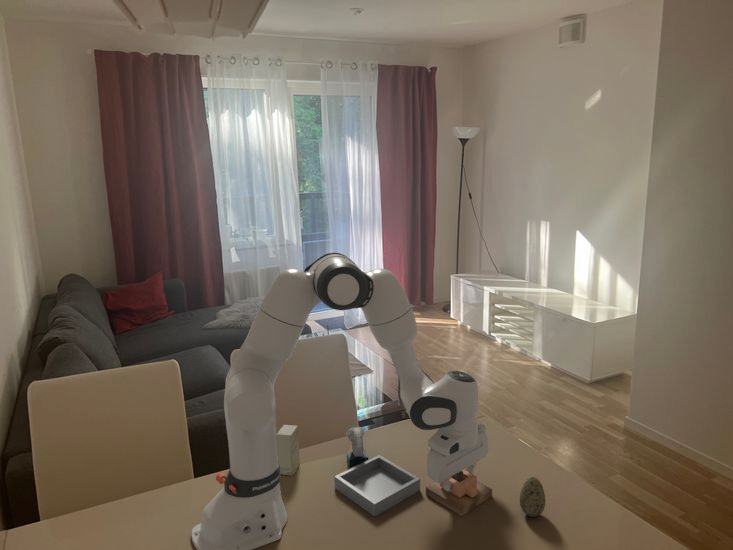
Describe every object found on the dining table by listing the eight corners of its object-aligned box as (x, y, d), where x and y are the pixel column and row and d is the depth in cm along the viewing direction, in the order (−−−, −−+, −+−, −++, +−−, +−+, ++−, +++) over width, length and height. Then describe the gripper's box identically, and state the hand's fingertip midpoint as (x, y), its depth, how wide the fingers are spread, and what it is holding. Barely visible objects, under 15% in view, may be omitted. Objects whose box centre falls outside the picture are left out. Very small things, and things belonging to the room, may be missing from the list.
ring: (466, 501, 133) (466, 490, 133) (440, 486, 140) (440, 475, 139) (482, 490, 137) (483, 480, 137) (456, 476, 144) (456, 466, 143)
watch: (364, 455, 159) (363, 421, 157) (369, 470, 152) (369, 434, 149) (345, 458, 158) (344, 423, 156) (350, 473, 151) (349, 436, 148)
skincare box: (293, 476, 150) (291, 435, 147) (277, 474, 150) (275, 434, 148) (300, 464, 156) (298, 425, 153) (285, 462, 156) (283, 423, 154)
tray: (374, 516, 132) (374, 504, 131) (334, 488, 144) (334, 476, 143) (420, 490, 142) (420, 478, 141) (379, 466, 154) (379, 454, 153)
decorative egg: (513, 510, 133) (515, 474, 131) (533, 504, 135) (535, 468, 133) (530, 525, 128) (532, 487, 126) (549, 518, 130) (552, 481, 128)
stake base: (461, 516, 132) (462, 492, 130) (425, 494, 140) (425, 471, 139) (492, 496, 139) (492, 473, 138) (455, 476, 148) (456, 454, 147)
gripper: (475, 417, 145) (474, 463, 148) (423, 442, 132) (422, 493, 135) (495, 425, 141) (493, 473, 143) (442, 453, 127) (441, 505, 130)
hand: (458, 483), depth 139 cm, fingers closed on ring, 7 cm apart
